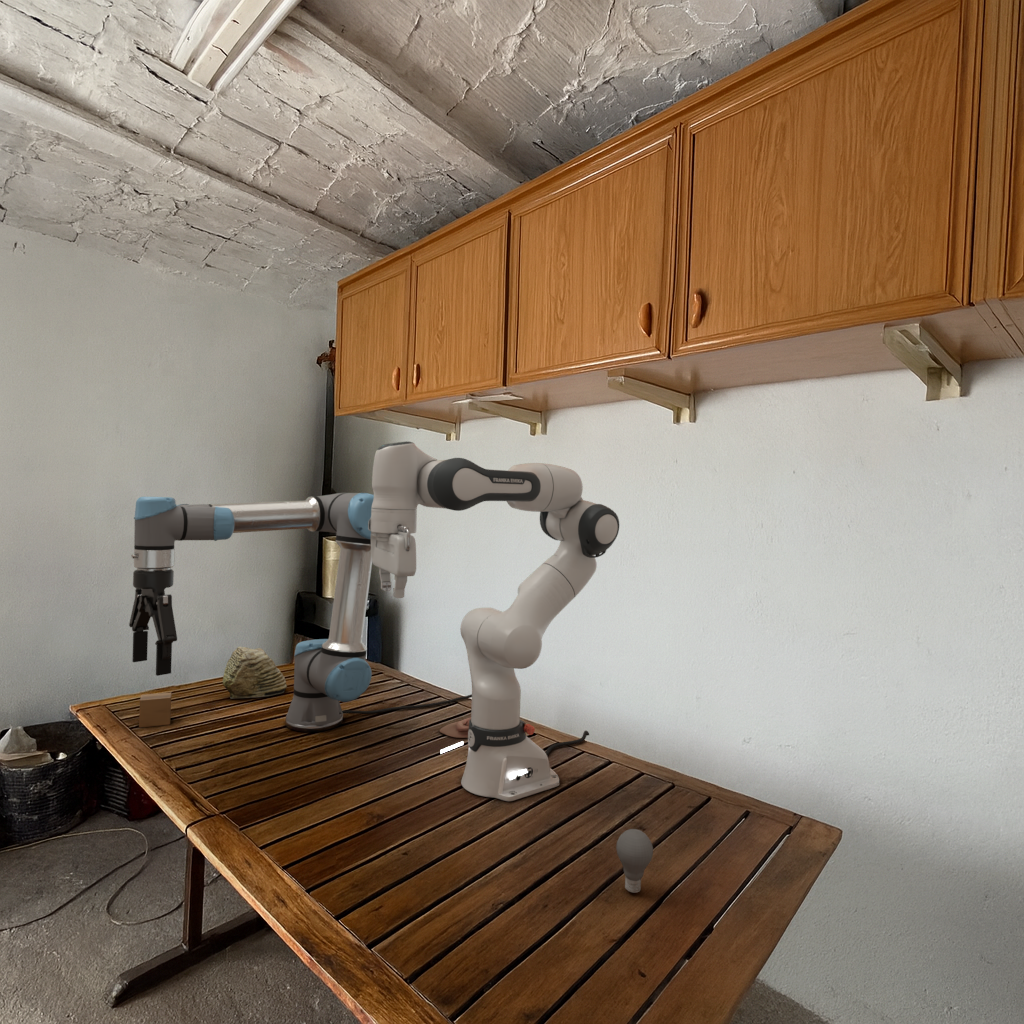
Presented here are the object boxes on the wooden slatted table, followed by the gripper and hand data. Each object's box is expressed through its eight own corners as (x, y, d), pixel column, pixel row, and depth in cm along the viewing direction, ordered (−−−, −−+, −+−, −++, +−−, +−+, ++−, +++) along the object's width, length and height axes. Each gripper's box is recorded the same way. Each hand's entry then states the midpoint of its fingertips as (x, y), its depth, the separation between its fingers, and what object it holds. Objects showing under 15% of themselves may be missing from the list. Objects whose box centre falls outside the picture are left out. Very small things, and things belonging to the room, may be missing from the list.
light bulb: (610, 879, 108) (613, 822, 108) (644, 879, 109) (647, 822, 109) (619, 902, 102) (622, 840, 102) (655, 901, 103) (658, 840, 103)
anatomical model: (436, 720, 170) (448, 707, 182) (435, 735, 170) (448, 721, 182) (483, 726, 168) (493, 712, 179) (483, 741, 168) (493, 726, 179)
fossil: (218, 695, 195) (220, 647, 195) (278, 685, 208) (279, 640, 207) (228, 703, 189) (230, 653, 188) (289, 692, 201) (290, 645, 201)
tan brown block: (140, 721, 172) (141, 694, 172) (170, 718, 175) (171, 692, 175) (138, 727, 167) (139, 700, 167) (169, 724, 171) (170, 697, 170)
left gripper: (114, 563, 141) (112, 658, 141) (156, 576, 124) (154, 683, 125) (151, 562, 146) (148, 653, 147) (196, 574, 130) (193, 676, 130)
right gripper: (425, 526, 116) (423, 601, 117) (395, 521, 135) (394, 586, 135) (392, 526, 114) (390, 603, 114) (366, 521, 132) (364, 587, 132)
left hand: (151, 667), depth 136 cm, fingers open, 13 cm apart
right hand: (392, 593), depth 125 cm, fingers open, 8 cm apart
